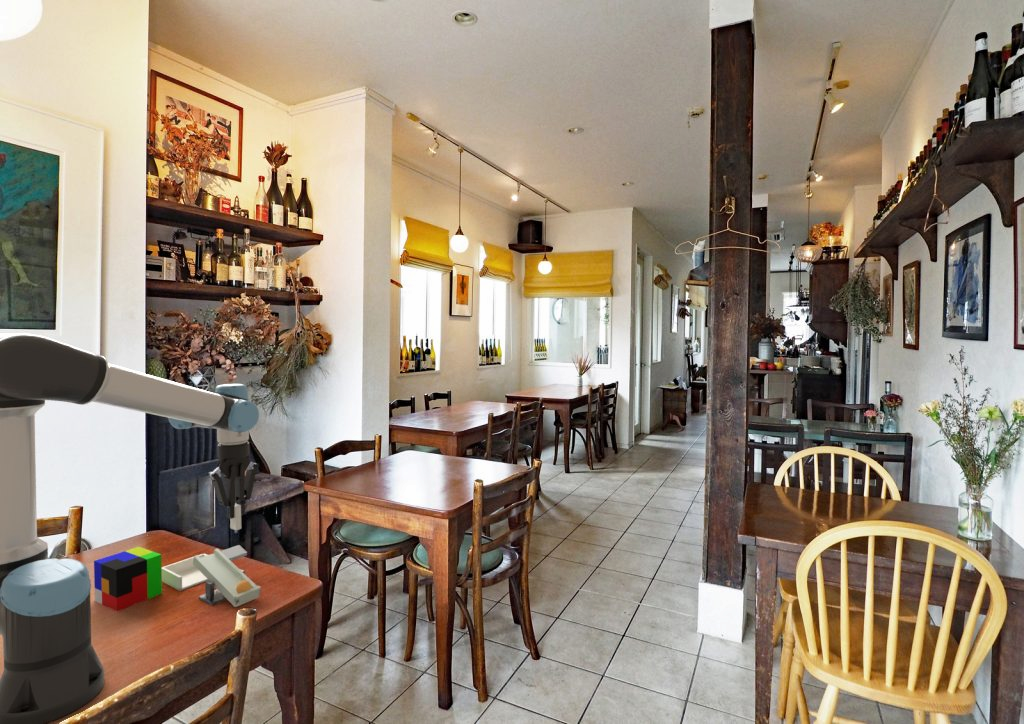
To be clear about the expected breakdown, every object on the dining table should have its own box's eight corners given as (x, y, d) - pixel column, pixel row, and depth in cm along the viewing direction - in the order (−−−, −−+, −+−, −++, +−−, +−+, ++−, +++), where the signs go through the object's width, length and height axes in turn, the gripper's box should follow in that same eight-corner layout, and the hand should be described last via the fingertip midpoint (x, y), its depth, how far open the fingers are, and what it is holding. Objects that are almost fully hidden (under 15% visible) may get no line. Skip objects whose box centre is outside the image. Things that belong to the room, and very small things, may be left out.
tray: (179, 591, 134) (179, 577, 133) (160, 580, 139) (160, 567, 139) (223, 574, 143) (223, 561, 143) (204, 565, 148) (204, 553, 148)
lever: (281, 587, 135) (283, 578, 134) (235, 607, 125) (236, 597, 124) (238, 548, 145) (240, 539, 144) (192, 563, 135) (194, 554, 134)
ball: (238, 599, 126) (242, 590, 125) (232, 590, 128) (235, 580, 127) (251, 594, 129) (255, 584, 128) (244, 585, 131) (248, 575, 130)
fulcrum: (251, 589, 135) (251, 571, 135) (211, 605, 127) (211, 587, 126) (238, 583, 138) (238, 566, 138) (198, 598, 130) (198, 580, 130)
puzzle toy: (94, 601, 128) (93, 560, 128) (139, 584, 137) (139, 546, 137) (117, 611, 124) (116, 569, 123) (162, 593, 132) (161, 554, 132)
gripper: (216, 448, 133) (219, 539, 135) (264, 439, 144) (266, 523, 146) (200, 444, 137) (203, 533, 139) (248, 436, 148) (250, 518, 150)
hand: (235, 528), depth 142 cm, fingers closed
